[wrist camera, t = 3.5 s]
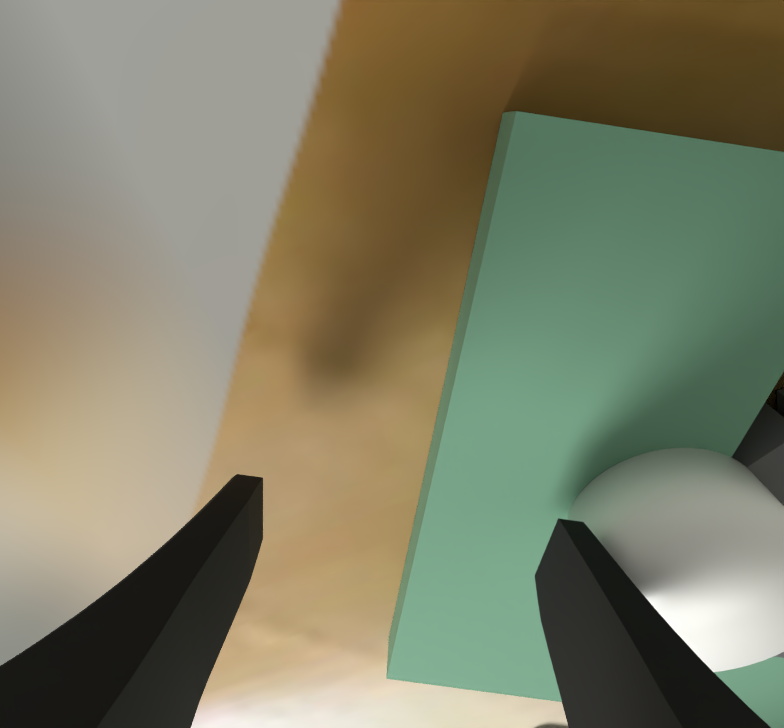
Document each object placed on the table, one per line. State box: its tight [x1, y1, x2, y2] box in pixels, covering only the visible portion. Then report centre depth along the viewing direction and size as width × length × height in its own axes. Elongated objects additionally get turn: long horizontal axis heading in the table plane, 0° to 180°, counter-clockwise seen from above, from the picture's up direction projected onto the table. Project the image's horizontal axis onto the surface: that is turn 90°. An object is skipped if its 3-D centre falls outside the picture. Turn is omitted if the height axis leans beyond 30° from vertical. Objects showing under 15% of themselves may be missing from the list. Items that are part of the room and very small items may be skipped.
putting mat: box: [387, 111, 784, 728], centre depth 13 cm, size 18×18×2 cm
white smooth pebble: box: [567, 448, 784, 672], centre depth 11 cm, size 5×5×2 cm
